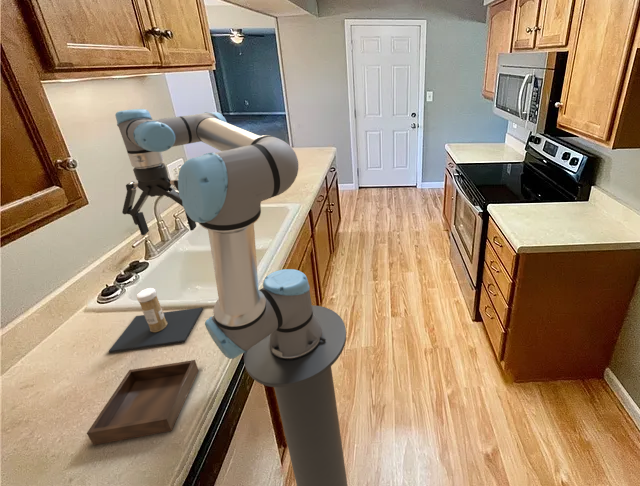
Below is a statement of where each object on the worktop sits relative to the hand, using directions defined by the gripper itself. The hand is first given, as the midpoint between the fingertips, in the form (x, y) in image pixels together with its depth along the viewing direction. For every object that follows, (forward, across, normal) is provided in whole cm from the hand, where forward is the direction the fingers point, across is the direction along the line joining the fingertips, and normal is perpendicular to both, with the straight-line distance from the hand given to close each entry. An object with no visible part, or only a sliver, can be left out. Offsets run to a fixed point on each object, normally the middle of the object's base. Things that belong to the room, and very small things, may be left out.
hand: (169, 230), depth 101 cm
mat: (+29, -6, -10) cm, 31 cm away
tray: (+29, +4, -36) cm, 46 cm away
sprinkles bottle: (+28, -6, -10) cm, 30 cm away
